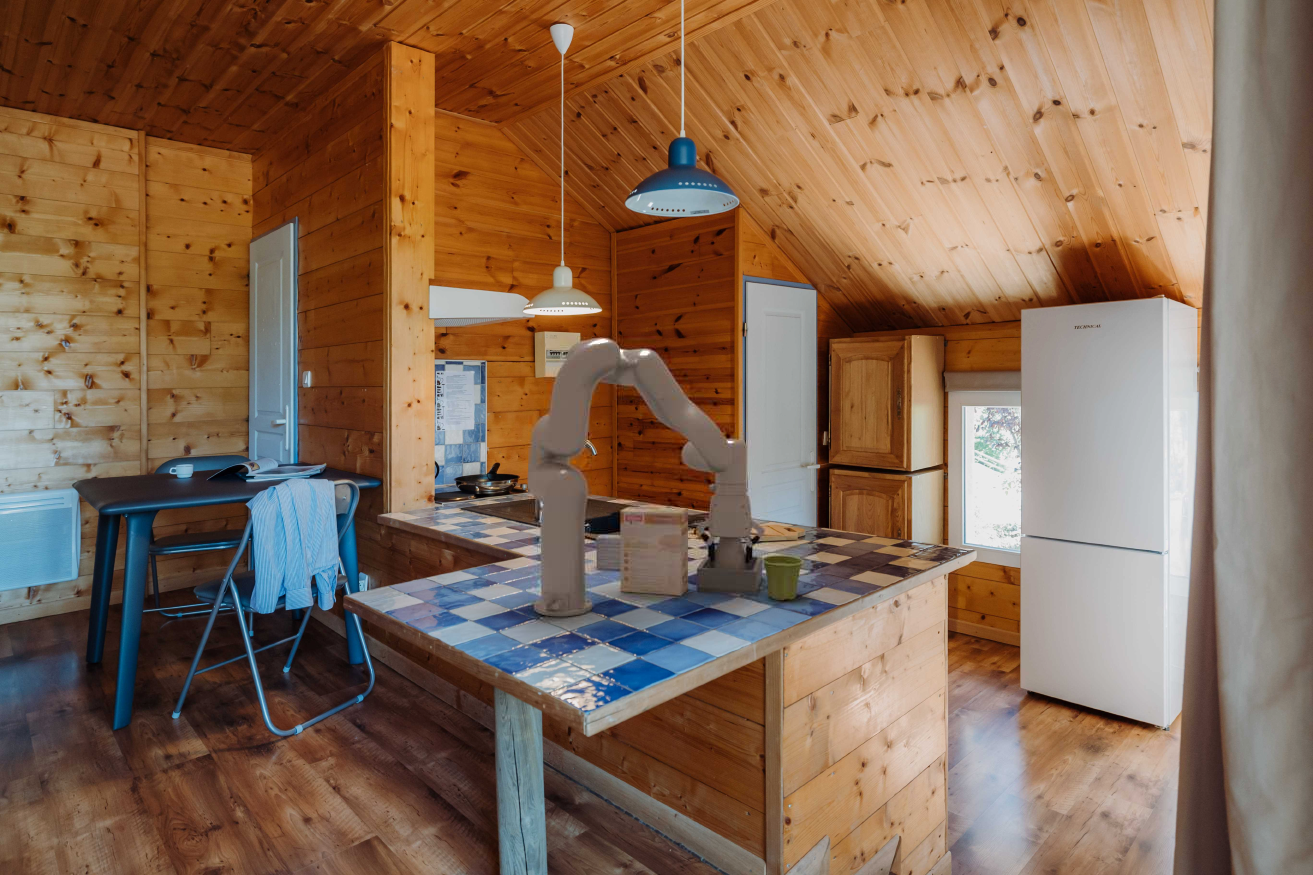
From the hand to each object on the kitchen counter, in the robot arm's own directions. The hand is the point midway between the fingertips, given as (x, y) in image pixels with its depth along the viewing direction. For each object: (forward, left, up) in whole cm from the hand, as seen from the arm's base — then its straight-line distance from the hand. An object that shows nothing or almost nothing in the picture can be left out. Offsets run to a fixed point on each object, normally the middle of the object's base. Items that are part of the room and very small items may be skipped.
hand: (730, 560), depth 182 cm
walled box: (0, 0, -6) cm, 6 cm away
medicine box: (+10, +33, -6) cm, 35 cm away
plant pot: (-8, -13, -6) cm, 17 cm away
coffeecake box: (-9, +17, -6) cm, 20 cm away
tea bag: (0, 0, -4) cm, 4 cm away
